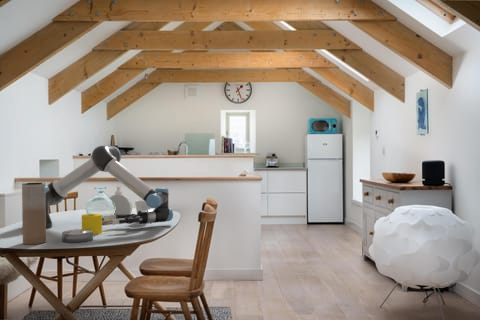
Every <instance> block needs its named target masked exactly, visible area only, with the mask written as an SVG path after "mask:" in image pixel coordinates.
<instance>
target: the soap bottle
mask: <svg viewBox="0 0 480 320" xmlns="http://www.w3.org/2000/svg"><path fill="white" fill-rule="evenodd" d="M109 198H110V199H111V200H112V201H113V202H114V203H115V206H116V210H115V213H114V215H116V214H132V213H133V212H132V211H133V203H132V200H131V199H130V198H129V196H128V195H126V194H123V191H122V190H121V185H118V186H116V191H115V192H114V194H113V195H111V196H110V197H109Z"/></svg>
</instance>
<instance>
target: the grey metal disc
mask: <svg viewBox="0 0 480 320" xmlns="http://www.w3.org/2000/svg"><path fill="white" fill-rule="evenodd" d="M93 240H94V235H93V231H92V230H88V229H82V228H79V229H70V230H64V231H63V232H62V233H61V241H62V243H67V244H68V243H69V244H79V243H87V242H91V241H93Z"/></svg>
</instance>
